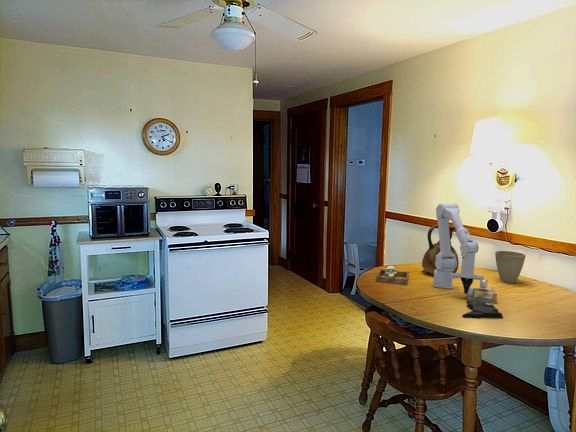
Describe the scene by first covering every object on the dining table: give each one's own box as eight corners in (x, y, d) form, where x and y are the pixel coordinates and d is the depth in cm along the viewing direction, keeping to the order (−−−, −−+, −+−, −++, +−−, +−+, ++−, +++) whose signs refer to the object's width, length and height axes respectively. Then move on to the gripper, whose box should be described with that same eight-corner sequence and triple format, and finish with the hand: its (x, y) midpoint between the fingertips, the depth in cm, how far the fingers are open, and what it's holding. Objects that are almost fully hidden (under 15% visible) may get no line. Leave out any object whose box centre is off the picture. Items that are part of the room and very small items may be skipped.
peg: (480, 292, 200) (480, 280, 199) (479, 290, 203) (479, 278, 202) (487, 292, 199) (488, 281, 198) (486, 290, 202) (486, 279, 202)
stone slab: (455, 305, 190) (456, 295, 190) (493, 310, 186) (494, 299, 186) (462, 318, 169) (463, 306, 169) (505, 324, 164) (506, 312, 164)
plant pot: (528, 282, 222) (530, 254, 220) (514, 286, 214) (517, 257, 212) (501, 276, 234) (503, 249, 232) (487, 280, 226) (489, 252, 224)
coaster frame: (376, 281, 219) (376, 276, 219) (379, 274, 235) (379, 269, 234) (407, 285, 214) (407, 279, 214) (408, 277, 229) (408, 272, 229)
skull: (403, 282, 216) (391, 267, 217) (388, 292, 219) (376, 278, 220) (403, 275, 228) (391, 261, 228) (389, 286, 231) (377, 272, 231)
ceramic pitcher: (463, 278, 228) (466, 226, 224) (427, 278, 228) (430, 226, 224) (449, 269, 247) (453, 221, 243) (417, 269, 248) (419, 221, 244)
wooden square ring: (474, 297, 191) (474, 291, 190) (472, 292, 198) (472, 287, 198) (492, 299, 188) (493, 293, 188) (490, 294, 196) (490, 288, 195)
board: (468, 300, 191) (469, 291, 190) (465, 289, 208) (465, 281, 207) (496, 303, 187) (497, 294, 186) (490, 292, 204) (491, 283, 203)
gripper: (452, 266, 192) (450, 293, 194) (485, 269, 188) (483, 297, 189) (451, 263, 199) (449, 289, 201) (483, 265, 194) (481, 292, 196)
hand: (465, 293), depth 195 cm, fingers closed
